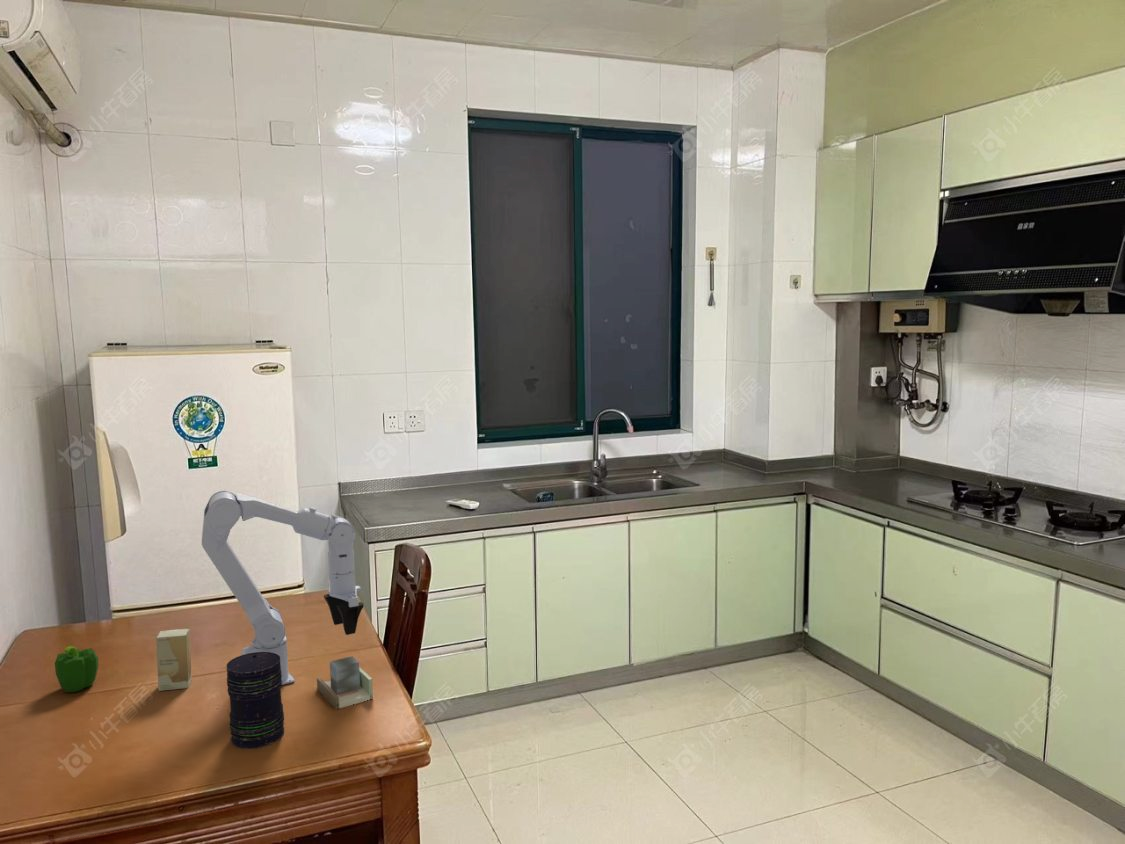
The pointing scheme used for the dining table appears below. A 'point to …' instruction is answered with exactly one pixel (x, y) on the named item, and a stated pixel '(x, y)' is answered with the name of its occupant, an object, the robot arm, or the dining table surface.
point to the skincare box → (173, 659)
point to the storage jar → (255, 700)
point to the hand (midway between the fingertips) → (344, 628)
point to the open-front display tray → (349, 697)
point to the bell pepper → (76, 668)
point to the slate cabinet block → (344, 675)
